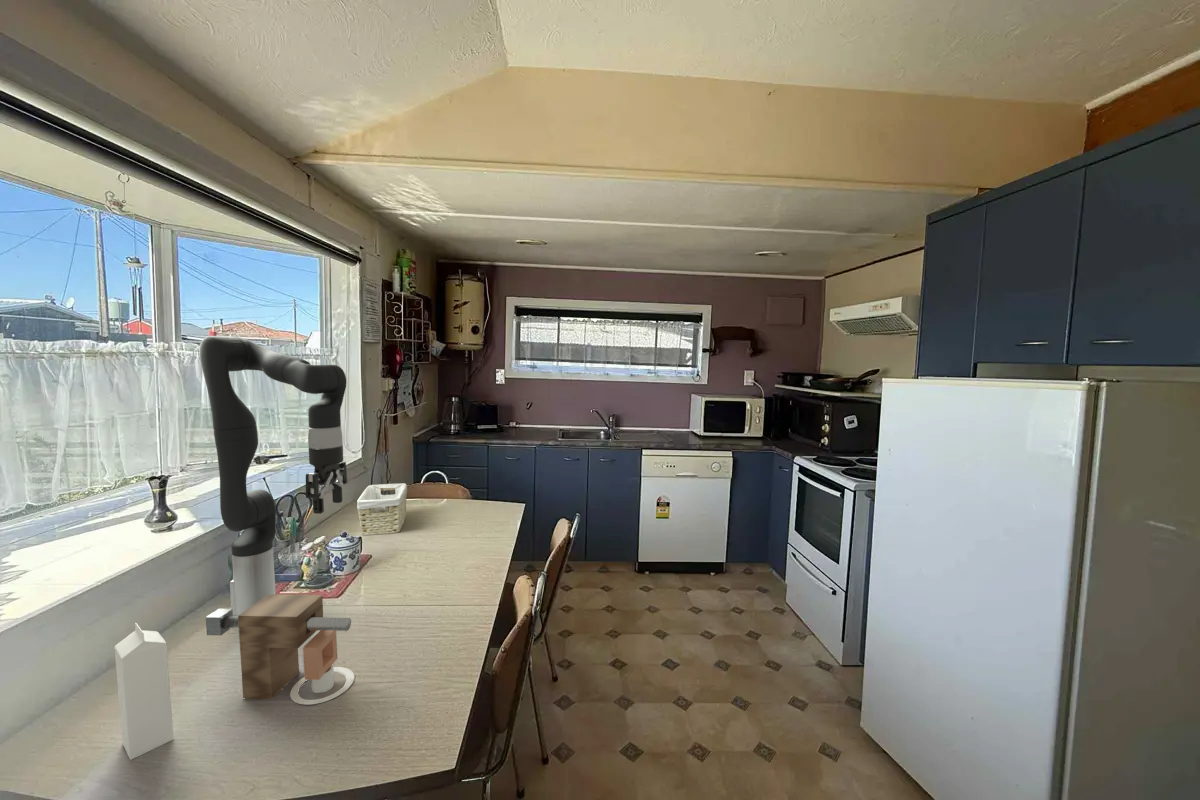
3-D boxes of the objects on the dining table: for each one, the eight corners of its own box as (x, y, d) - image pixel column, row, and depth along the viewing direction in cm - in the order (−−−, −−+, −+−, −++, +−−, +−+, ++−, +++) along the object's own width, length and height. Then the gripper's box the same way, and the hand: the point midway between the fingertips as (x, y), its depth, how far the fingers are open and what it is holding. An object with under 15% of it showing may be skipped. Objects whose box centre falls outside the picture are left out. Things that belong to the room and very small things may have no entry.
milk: (165, 725, 94) (157, 614, 93) (174, 740, 91) (166, 625, 89) (121, 744, 90) (112, 628, 88) (129, 761, 86) (120, 640, 84)
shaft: (206, 635, 103) (205, 617, 103) (219, 626, 107) (218, 608, 107) (344, 637, 103) (343, 619, 103) (352, 628, 106) (351, 611, 106)
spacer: (304, 679, 102) (302, 647, 101) (324, 658, 109) (322, 628, 108) (319, 679, 102) (317, 647, 101) (337, 658, 109) (336, 628, 108)
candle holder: (295, 677, 109) (294, 659, 109) (355, 665, 114) (355, 647, 113) (285, 714, 98) (284, 694, 98) (352, 698, 103) (351, 678, 102)
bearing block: (243, 699, 102) (238, 615, 100) (272, 671, 111) (268, 594, 109) (300, 700, 102) (296, 616, 100) (325, 672, 110) (322, 595, 109)
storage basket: (401, 534, 194) (400, 497, 193) (356, 537, 190) (355, 500, 189) (408, 515, 218) (408, 482, 216) (369, 517, 214) (367, 484, 212)
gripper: (327, 439, 131) (329, 499, 132) (292, 449, 116) (296, 516, 118) (355, 439, 131) (357, 499, 132) (324, 450, 116) (327, 517, 118)
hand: (328, 507), depth 125 cm, fingers open, 8 cm apart
